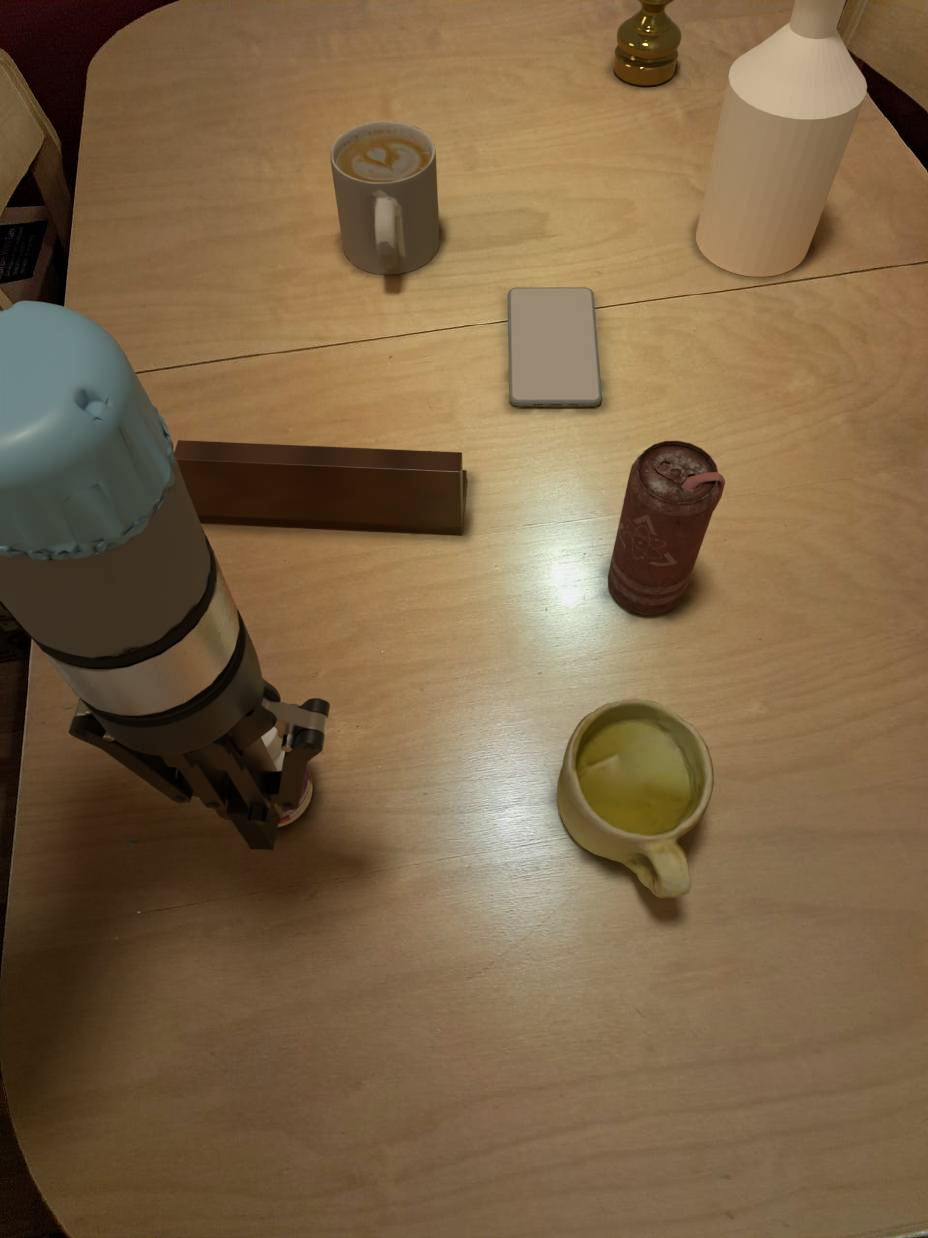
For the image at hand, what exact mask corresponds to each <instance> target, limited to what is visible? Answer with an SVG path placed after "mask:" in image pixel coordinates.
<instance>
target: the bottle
mask: <svg viewBox="0 0 928 1238" xmlns="http://www.w3.org/2000/svg"><path fill="white" fill-rule="evenodd" d="M846 1H847V0H794V2H793V3H794V4H793V8H792V12H791V17H790V21H789V22H788V23H786V24H785V25H784V26H782V27H780V28H779V29H778V30H777V31H776V32H774V33H773V34H772V35H770V36H769V37H768V38H766V39H765V40H763V41H762V42H761V43H759V44H757V45H756V46H754V47H753V48H751V49H749V50H748V51H747V52H745V53H743V54H741V55H739V56H738V58H737V59H735V60H734V61H733V63H732V64H731V66H730V68H729V72H728V77H727V81H726V86H725V91H724V95H723V101H722V106H721V111H720V115H719V120H718V125H717V130H716V134H715V140H714V144H713V149H712V154H711V159H710V163H709V168H708V173H707V178H706V183H705V189H704V193H703V198H702V203H701V207H700V213H699V217H698V222H697V225H696V226H697V227H696V232H695V242H696V245H697V248H698V249H699V251H700V252H701V254H702V255H703V257H705V258H706V259H707V260H708V261H709V262H710V263H712V264H714V265H715V266H717V267H718V268H720V269H722V270H724V271H727V272H729V273H733V274H736V275H739V276H746V277H751V278H752V277H755V278H756V277H757V278H760V277H761V278H764V277H773V276H778V275H782V274H785V273H787V272H790V271H792V270H794V269H795V268H796V267H798V266H799V265H800V264H801V263H802V262H803V261H804V260H805V258H806V256H807V254H808V251H809V249H810V246H811V244H812V242H813V241H812V240H813V238H814V236H815V233H816V229H817V227H818V225H819V222H820V219H821V217H822V213H823V212H824V209H825V207H826V206H825V205H826V203H827V200H828V197H829V195H830V192H831V189H832V186H833V185H834V182H835V178H836V176H837V173H838V171H839V168H840V165H841V163H842V159H843V157H844V154H845V152H846V149H847V146H848V143H849V141H850V138H851V135H852V133H853V130H854V128H855V125H856V122H857V119H858V116H859V114H860V112H861V109H862V105H863V103H864V101H865V98H866V96H867V92H868V91H867V90H868V85H867V81H866V78H865V76H864V75H863V73H862V71H861V70H860V68H859V67H858V65H857V63H856V62H855V61H854V59H853V58H852V56H851V55H850V52H849V51H848V48H847V47H846V44H845V42H844V40H843V38H842V37H841V34H840V33H839V31H838V29H837V28H838V25H839V22H840V19H841V16H842V13H843V10H844V8H845V5H846Z"/></svg>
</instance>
